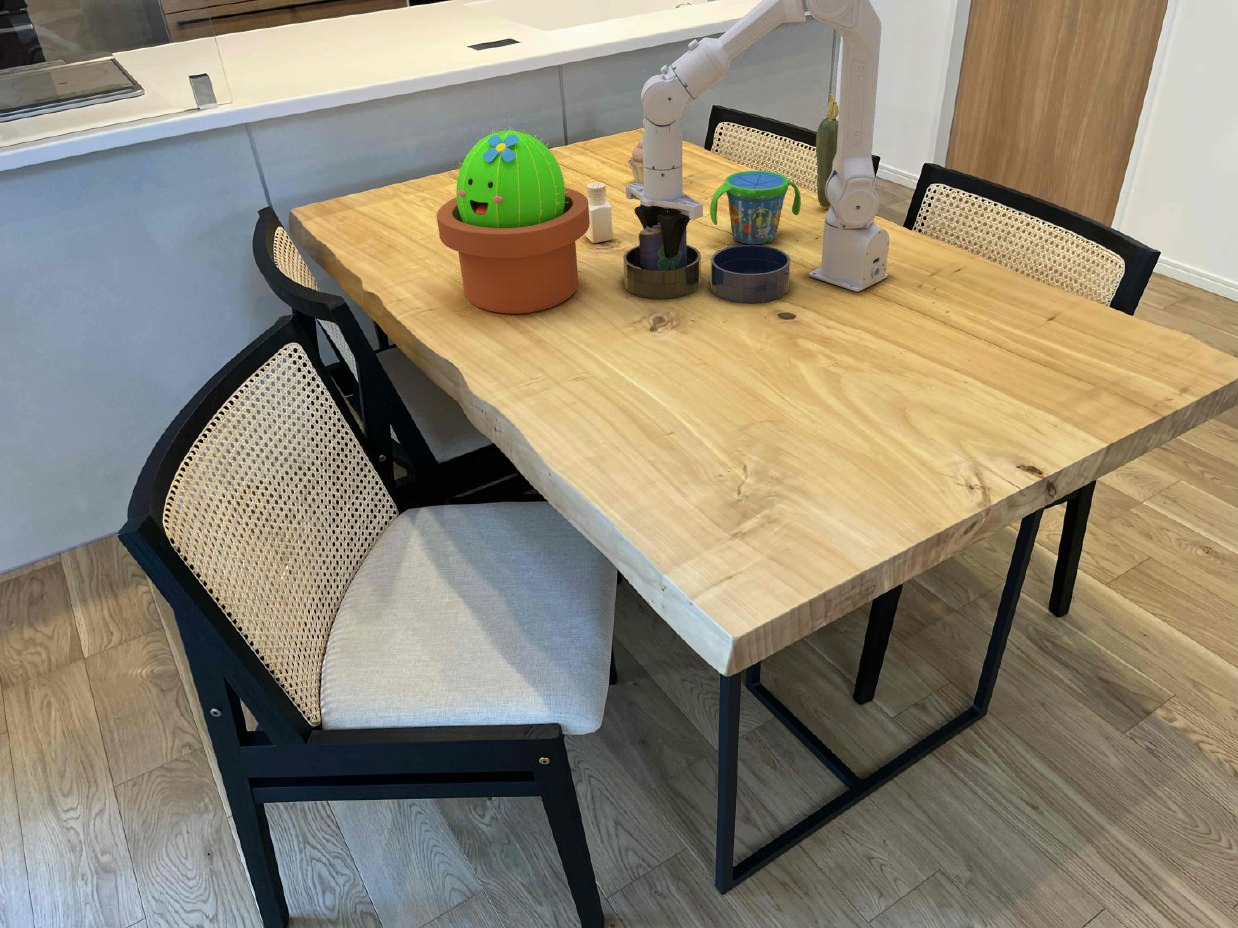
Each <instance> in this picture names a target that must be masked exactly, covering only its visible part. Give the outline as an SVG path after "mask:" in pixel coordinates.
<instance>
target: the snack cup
mask: <svg viewBox="0 0 1238 928" xmlns="http://www.w3.org/2000/svg"><path fill="white" fill-rule="evenodd" d="M789 186H791V187H792V188H793V190H794V198H793V203H792V207H791V213H792V214H793V215H795V216H798V215H800V211H801V206H802V205H801V204H802V199H801V192H800V189H799V187H798V186H797V184H796V183H795V182H793V181H792V180H790V179H789V178H788V177H787V176H785V175H784V174H782V173H778V172H774V171H766V170H743V171H739V172H735V173H732V174H730V175H728V176H727V177H725V181H724V183H722V184H721V185H720V186H719V187H718V188H717V189H716V190H715V192H714V194H713V195H712V198H711V201H710V207H709V215H710V219H711V222H712V224H713V225H715V226H717V225H718V219H717V216H718V202H719V199H720V197H722V195H724V194H726V196H727V201H728V212H729V214H728V215H729V220H730V229H731V235H732V238H733V240H734V241H737V242H739V243H742V244H745V245H761V244H765V243H772V242H773V241H774V239H775V238H776V237H777V235H778V229H779V225H780V221H781V217H782V209H783V207H784V200H785V197H786V194H787V192H788V191H789V190H788V189H789Z"/></svg>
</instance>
